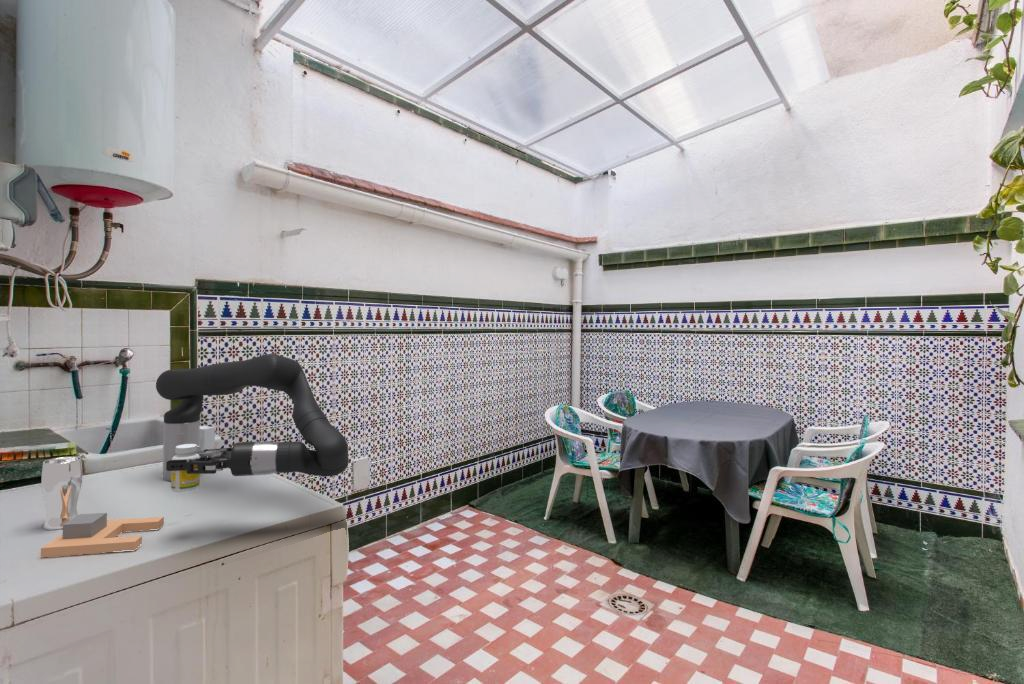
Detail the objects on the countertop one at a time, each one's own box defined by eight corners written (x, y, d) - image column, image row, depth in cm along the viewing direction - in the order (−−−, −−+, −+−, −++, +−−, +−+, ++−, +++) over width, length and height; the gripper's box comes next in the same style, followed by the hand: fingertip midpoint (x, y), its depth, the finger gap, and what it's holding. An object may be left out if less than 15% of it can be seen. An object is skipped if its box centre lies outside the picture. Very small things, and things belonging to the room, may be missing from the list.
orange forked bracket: (163, 525, 115) (164, 503, 115) (135, 551, 102) (135, 527, 102) (81, 530, 111) (82, 508, 111) (40, 558, 98) (41, 533, 98)
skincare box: (215, 461, 170) (215, 427, 170) (203, 464, 166) (204, 429, 166) (201, 459, 172) (202, 425, 172) (190, 462, 168) (191, 427, 168)
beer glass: (46, 533, 109) (47, 465, 109) (36, 526, 113) (37, 460, 112) (86, 523, 115) (87, 459, 115) (75, 517, 119) (76, 454, 118)
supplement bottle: (165, 492, 108) (165, 448, 107) (182, 484, 113) (182, 442, 113) (189, 492, 107) (189, 448, 107) (205, 485, 113) (205, 443, 112)
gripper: (264, 435, 121) (184, 438, 116) (249, 449, 107) (158, 453, 102) (263, 466, 121) (184, 470, 116) (249, 484, 107) (158, 489, 102)
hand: (173, 462), depth 109 cm, fingers closed on supplement bottle, 5 cm apart
